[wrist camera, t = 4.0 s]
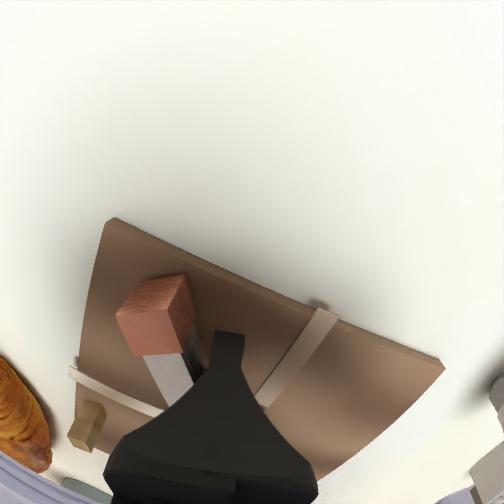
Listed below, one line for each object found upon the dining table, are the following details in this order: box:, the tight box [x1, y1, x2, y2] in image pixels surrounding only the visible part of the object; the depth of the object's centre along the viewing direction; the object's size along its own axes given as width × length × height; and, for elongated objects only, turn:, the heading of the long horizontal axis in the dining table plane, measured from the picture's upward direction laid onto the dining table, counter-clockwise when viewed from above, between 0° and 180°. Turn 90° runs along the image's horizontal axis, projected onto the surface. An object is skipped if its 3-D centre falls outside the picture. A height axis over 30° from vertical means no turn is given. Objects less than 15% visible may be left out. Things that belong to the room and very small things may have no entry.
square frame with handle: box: [115, 275, 266, 414], centre depth 11 cm, size 13×5×3 cm, turn 10°
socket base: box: [67, 218, 446, 481], centre depth 12 cm, size 18×18×5 cm
